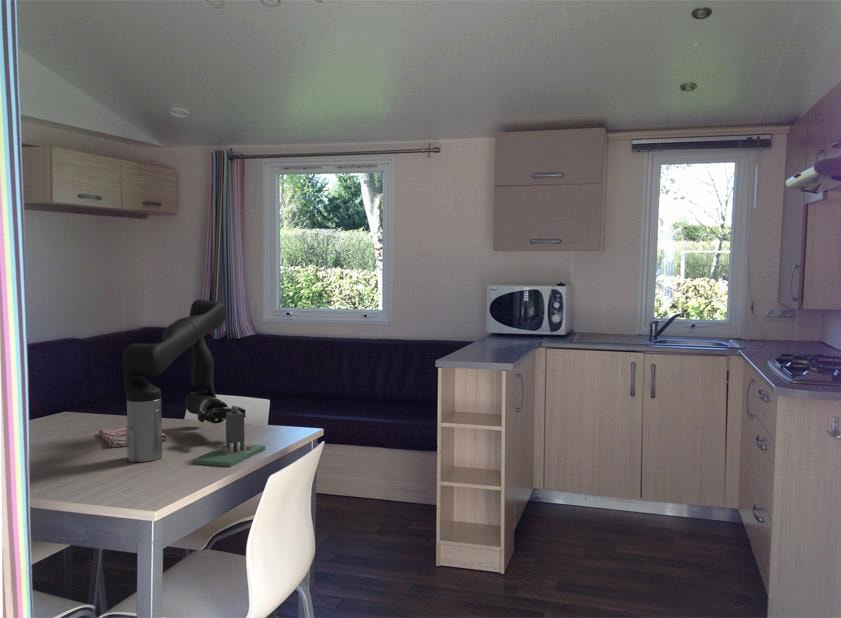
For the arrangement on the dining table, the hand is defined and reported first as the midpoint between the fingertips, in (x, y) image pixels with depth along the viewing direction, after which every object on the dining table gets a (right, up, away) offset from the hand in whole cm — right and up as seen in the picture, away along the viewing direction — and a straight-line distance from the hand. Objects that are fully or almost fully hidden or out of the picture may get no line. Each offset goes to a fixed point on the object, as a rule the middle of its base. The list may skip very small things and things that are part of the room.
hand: (227, 418), depth 215 cm
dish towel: (-34, -9, +12) cm, 37 cm away
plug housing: (+5, -8, -9) cm, 13 cm away
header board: (+4, -9, -12) cm, 16 cm away
